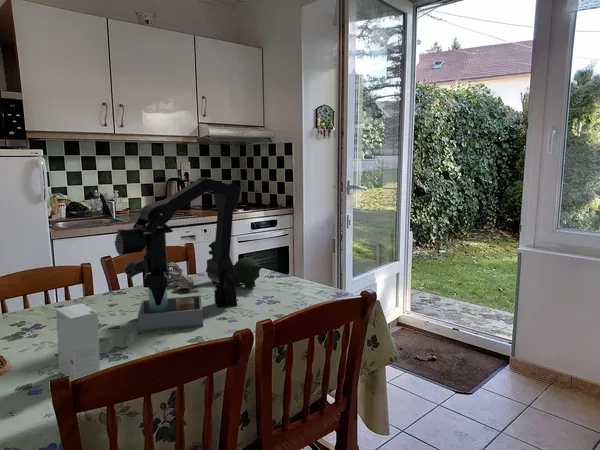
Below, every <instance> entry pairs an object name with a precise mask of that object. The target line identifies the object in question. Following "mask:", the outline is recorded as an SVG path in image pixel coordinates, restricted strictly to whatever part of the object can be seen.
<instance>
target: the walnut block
mask: <svg viewBox="0 0 600 450" xmlns="http://www.w3.org/2000/svg"><path fill="white" fill-rule="evenodd" d="M184 310H194V298H183V299H176V311H184Z"/></svg>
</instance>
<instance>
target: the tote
mask: <svg viewBox="0 0 600 450" xmlns="http://www.w3.org/2000/svg"><path fill="white" fill-rule="evenodd" d="M183 298H194V310H184V311H176V299H183ZM201 298H202V297H201V295H190V296H180V297H179V296H177V297H167V301H168V309H167V310H165V311H161V312H152V311H150V306H149V299H143V300H141V302H140V304H139V305H140V306H139V310H138V313H137V324H138V325H137V326H138V334H141V333H142V334H143V333H151V332H153V333H154V332H162V331H163V332H164V331H171V330H180V329H181V330H182V329H191V328H201V327H204V311H203V304H202V299H201Z"/></svg>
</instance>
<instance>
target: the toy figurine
mask: <svg viewBox="0 0 600 450" xmlns="http://www.w3.org/2000/svg"><path fill="white" fill-rule="evenodd" d="M208 247H209V248H210V249H211V250H209V251H208V255H210V256H211V258H209V259H208V260H211V259H212V257H213V256H214V251H215V240H214V241H212V242H211V243H210V244H209V245H208ZM261 269H263V266H262V265H259V264H258V262H257V261H256V260H255V259H253V258H251V257H242V258H240V259H238V260H237V261H236V262H235V263H234V264H233V273H234V275H235V276H236V277H237V278H238V279H240V281H241V282H240V284H244V287H245V289H246V290H249V289H250V290H251V289H253V288H254V287H255V286H256V282H255V281H256V280H257V279H258V278H260V270H261Z"/></svg>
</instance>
